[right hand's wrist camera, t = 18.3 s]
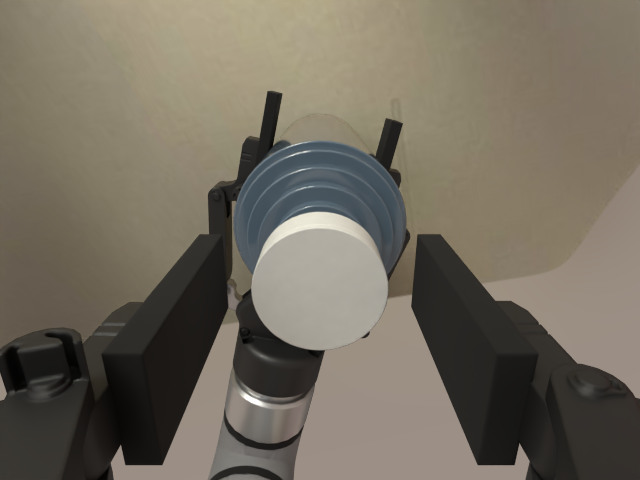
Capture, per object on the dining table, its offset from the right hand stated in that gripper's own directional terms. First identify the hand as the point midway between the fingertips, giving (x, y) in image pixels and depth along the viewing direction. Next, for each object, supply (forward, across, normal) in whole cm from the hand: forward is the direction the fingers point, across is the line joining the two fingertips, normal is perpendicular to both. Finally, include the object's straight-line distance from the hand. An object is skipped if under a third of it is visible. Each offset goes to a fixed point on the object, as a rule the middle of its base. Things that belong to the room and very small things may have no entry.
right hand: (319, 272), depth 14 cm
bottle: (+24, 0, 0) cm, 24 cm away
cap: (-1, 0, 0) cm, 1 cm away
